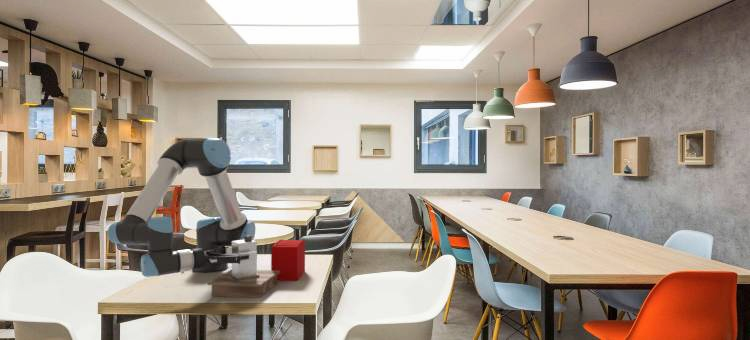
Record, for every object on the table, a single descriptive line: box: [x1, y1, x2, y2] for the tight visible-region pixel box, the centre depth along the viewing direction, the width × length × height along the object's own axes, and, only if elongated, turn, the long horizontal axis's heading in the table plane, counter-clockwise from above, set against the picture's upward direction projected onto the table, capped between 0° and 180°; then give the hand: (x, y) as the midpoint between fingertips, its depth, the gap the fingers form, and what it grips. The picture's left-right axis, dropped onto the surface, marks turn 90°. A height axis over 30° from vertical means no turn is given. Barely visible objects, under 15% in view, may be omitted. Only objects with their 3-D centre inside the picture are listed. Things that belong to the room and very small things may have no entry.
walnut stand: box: [207, 269, 280, 298], centre depth 163 cm, size 20×20×5 cm
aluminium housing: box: [229, 235, 259, 281], centre depth 163 cm, size 8×8×15 cm
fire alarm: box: [270, 239, 306, 282], centre depth 183 cm, size 16×11×15 cm
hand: (249, 252), depth 164 cm, fingers open, 13 cm apart
